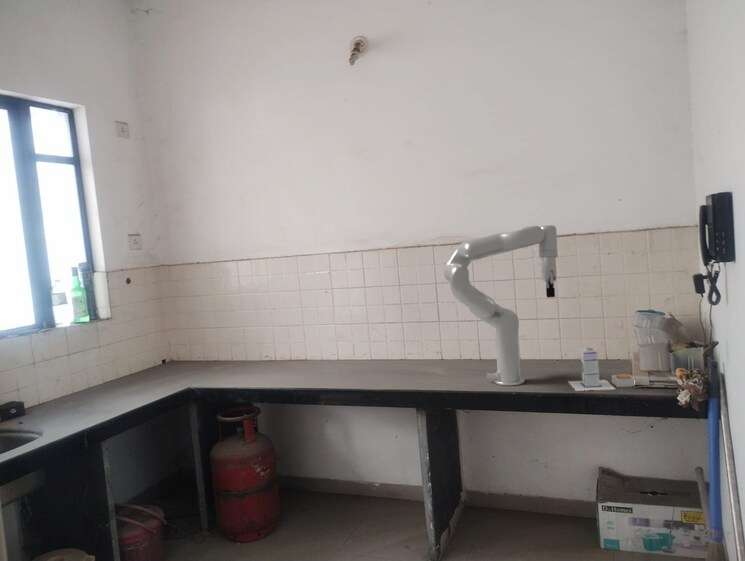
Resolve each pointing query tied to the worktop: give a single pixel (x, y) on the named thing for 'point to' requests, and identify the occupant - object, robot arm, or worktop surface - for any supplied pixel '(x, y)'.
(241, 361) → the worktop surface
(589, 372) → the syrup box
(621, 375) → the button
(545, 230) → the robot arm
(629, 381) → the button housing
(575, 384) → the white square panel
